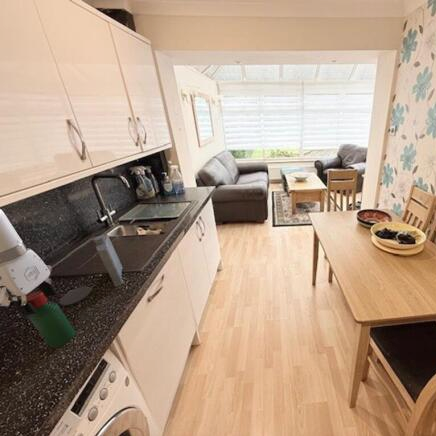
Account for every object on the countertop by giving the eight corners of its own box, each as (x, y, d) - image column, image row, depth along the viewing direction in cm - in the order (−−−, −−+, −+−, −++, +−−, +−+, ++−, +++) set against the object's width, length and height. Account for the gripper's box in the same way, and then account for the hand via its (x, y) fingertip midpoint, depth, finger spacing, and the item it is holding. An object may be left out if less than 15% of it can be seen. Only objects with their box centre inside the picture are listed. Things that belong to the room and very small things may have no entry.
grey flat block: (123, 284, 99) (104, 243, 90) (112, 288, 97) (91, 247, 88) (122, 266, 111) (105, 228, 102) (112, 269, 109) (93, 231, 100)
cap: (47, 296, 72) (42, 289, 71) (47, 303, 70) (42, 295, 68) (29, 304, 70) (23, 296, 68) (28, 311, 67) (22, 303, 66)
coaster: (53, 305, 90) (52, 304, 90) (76, 287, 99) (76, 286, 99) (76, 306, 89) (75, 305, 89) (98, 287, 98) (97, 286, 98)
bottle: (43, 347, 74) (11, 305, 66) (63, 329, 79) (36, 289, 72) (62, 348, 73) (31, 306, 65) (80, 330, 79) (54, 289, 71)
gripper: (-13, 272, 55) (29, 326, 63) (47, 235, 70) (75, 282, 78) (-49, 276, 54) (-2, 331, 62) (20, 238, 70) (50, 285, 77)
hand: (40, 303), depth 70 cm, fingers open, 6 cm apart
